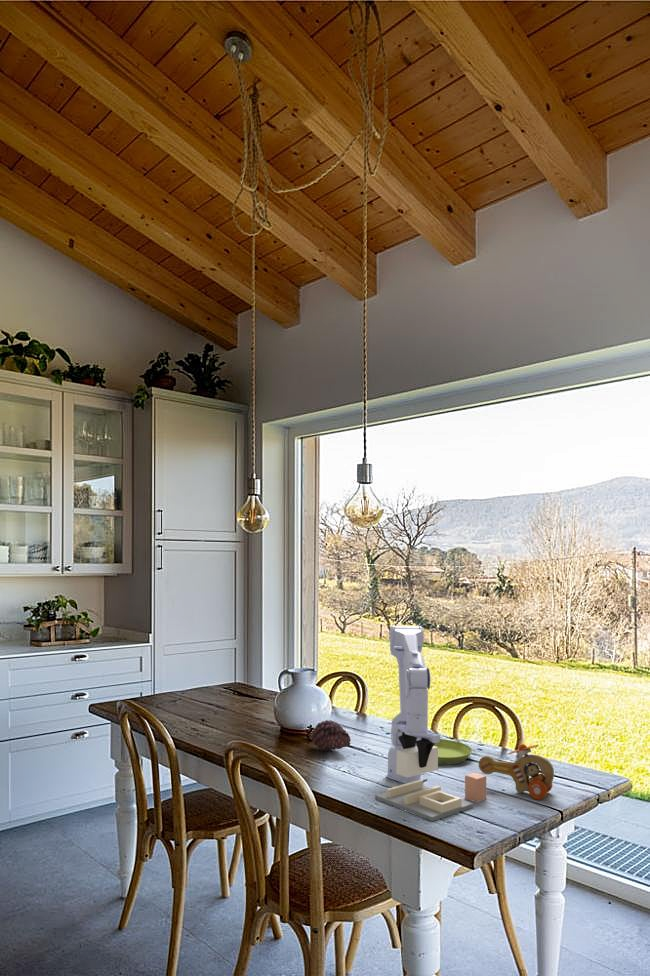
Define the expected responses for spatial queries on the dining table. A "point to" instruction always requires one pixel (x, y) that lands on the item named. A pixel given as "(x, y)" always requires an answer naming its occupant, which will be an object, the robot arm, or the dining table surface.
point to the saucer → (452, 751)
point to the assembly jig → (424, 800)
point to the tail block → (475, 787)
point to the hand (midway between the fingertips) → (416, 764)
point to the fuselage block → (415, 762)
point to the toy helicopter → (524, 771)
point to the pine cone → (330, 736)
